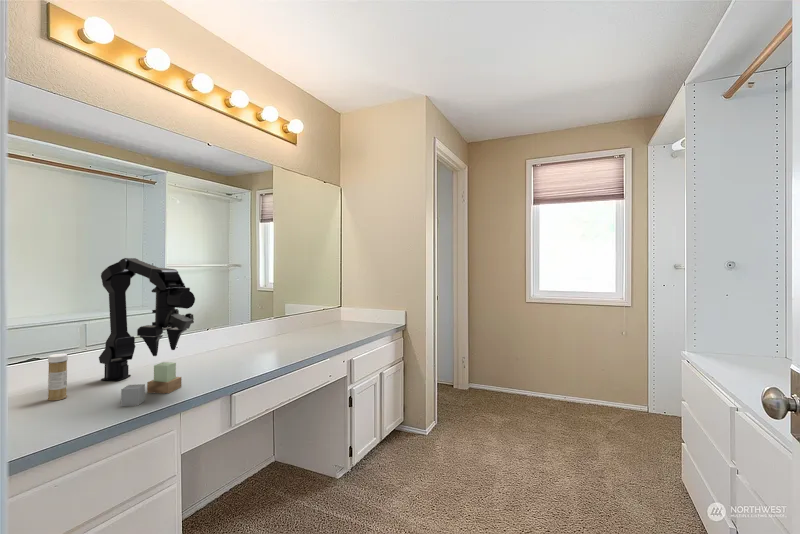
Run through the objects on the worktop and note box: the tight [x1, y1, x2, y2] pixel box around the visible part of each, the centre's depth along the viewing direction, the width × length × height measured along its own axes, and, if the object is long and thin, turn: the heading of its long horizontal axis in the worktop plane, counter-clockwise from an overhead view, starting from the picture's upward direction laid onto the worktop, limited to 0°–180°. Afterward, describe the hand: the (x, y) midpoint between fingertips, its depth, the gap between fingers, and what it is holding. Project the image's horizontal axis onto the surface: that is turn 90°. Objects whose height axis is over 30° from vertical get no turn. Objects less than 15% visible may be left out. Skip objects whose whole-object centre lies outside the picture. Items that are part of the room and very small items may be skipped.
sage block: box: [153, 361, 177, 381], centre depth 134 cm, size 4×4×5 cm
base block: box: [146, 376, 182, 394], centre depth 134 cm, size 7×7×4 cm
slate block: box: [120, 383, 146, 407], centre depth 121 cm, size 4×4×5 cm
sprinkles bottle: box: [47, 353, 68, 401], centre depth 123 cm, size 5×5×14 cm
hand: (164, 352), depth 136 cm, fingers open, 9 cm apart
